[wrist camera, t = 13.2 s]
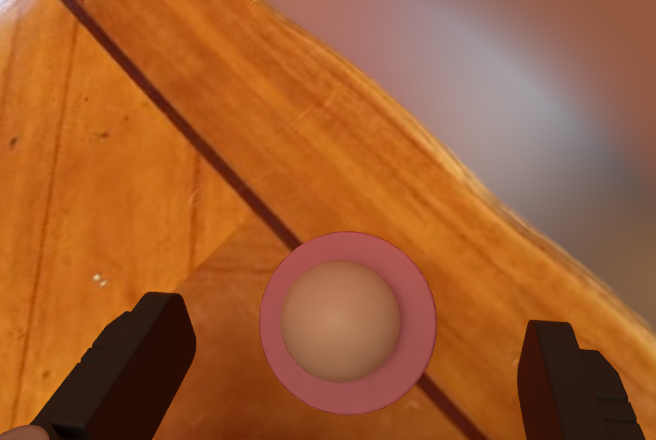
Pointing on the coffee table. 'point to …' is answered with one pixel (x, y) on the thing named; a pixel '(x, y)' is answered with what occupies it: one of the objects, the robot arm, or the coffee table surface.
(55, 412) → the robot arm
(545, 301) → the coffee table surface
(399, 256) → the doll
